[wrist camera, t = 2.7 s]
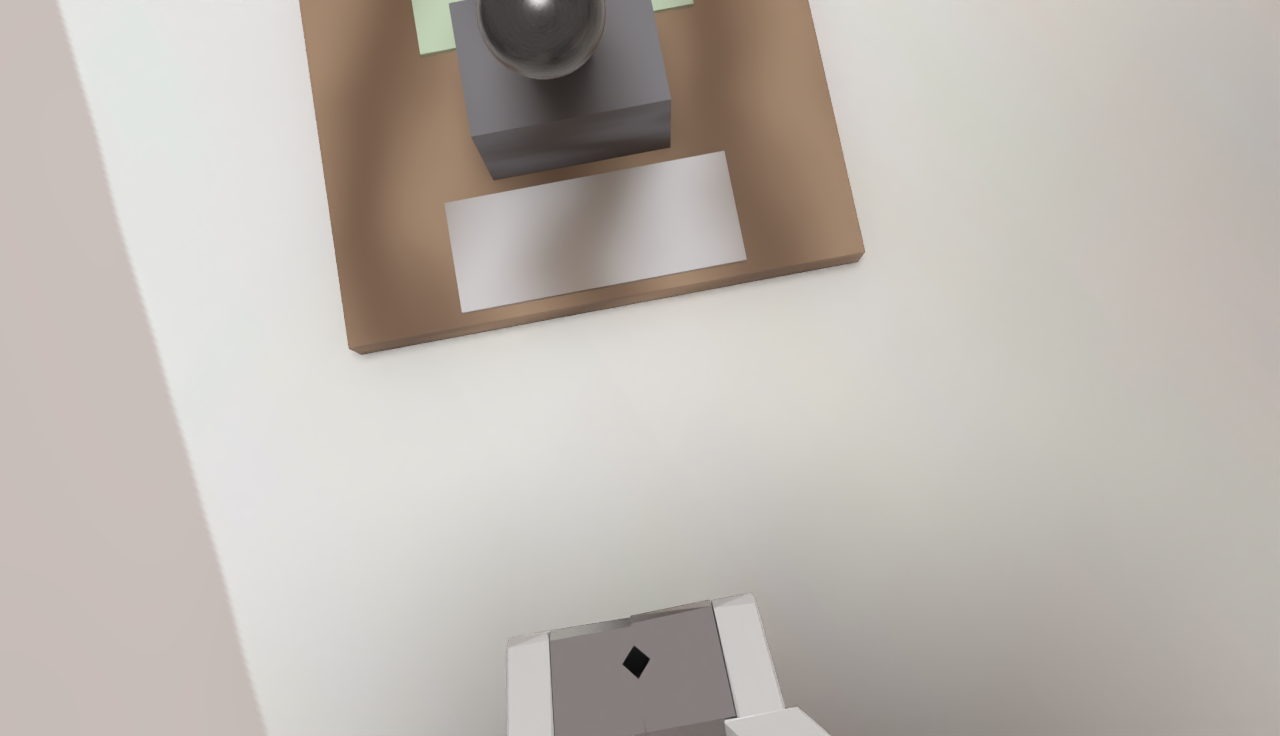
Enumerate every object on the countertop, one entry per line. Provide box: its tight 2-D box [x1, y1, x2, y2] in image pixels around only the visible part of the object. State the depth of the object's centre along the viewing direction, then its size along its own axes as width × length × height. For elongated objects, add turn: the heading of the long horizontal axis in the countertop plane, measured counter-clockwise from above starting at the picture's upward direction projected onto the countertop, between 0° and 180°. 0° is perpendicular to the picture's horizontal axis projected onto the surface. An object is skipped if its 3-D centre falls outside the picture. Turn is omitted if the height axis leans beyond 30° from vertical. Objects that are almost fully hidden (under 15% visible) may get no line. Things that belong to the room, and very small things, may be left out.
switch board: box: [299, 0, 865, 354], centre depth 37 cm, size 20×16×6 cm
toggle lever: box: [476, 0, 606, 80], centre depth 27 cm, size 3×3×13 cm
